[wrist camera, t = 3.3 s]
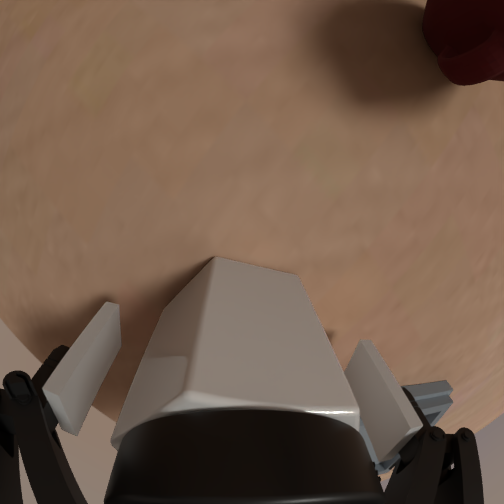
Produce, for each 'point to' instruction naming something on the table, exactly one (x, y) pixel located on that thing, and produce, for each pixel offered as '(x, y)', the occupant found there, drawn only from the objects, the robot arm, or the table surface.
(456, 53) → the mug
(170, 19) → the table surface
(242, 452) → the jar
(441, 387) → the baseplate
